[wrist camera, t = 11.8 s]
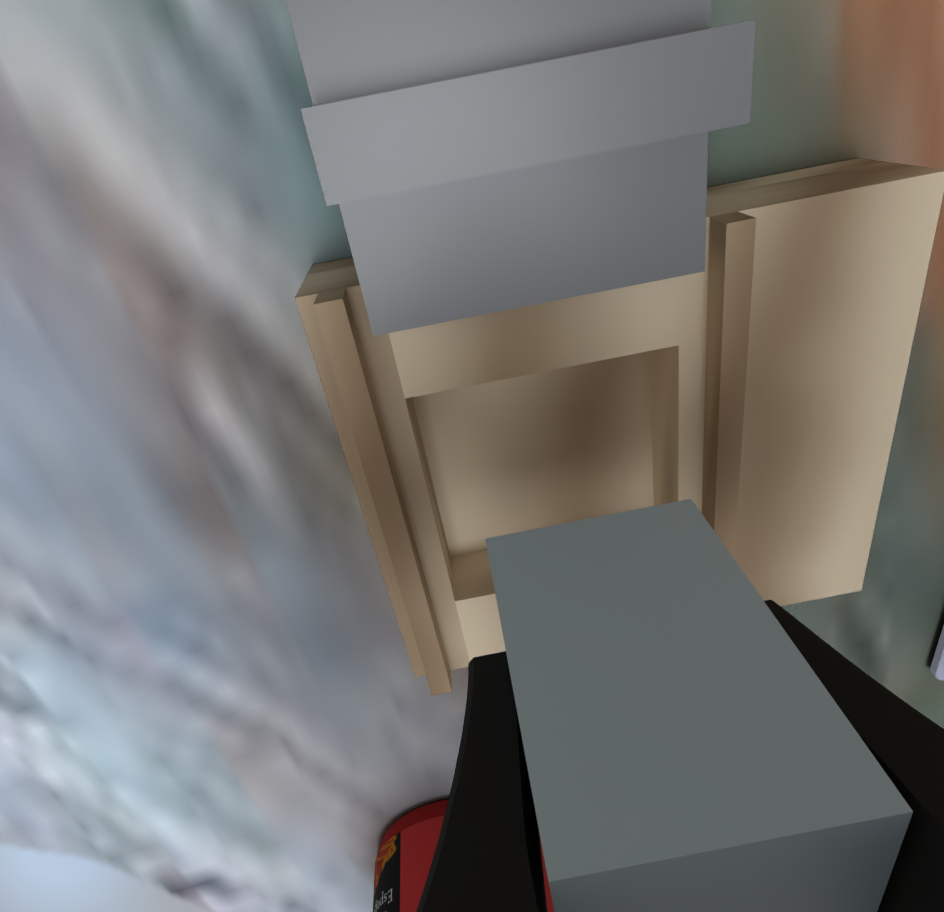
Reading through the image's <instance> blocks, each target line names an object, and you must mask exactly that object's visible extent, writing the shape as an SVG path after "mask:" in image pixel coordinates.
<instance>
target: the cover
mask: <svg viewBox="0 0 944 912" xmlns="http://www.w3.org/2000/svg"><path fill="white" fill-rule="evenodd" d="M286 3H287V7H288V11H289V15H290V19H291V23H292V26H293V30H294V34H295V38H296V42H297V46H298V49H299V53H300V57H301V61H302V65H303V69H304V72H305V76H306V80H307V84H308V88H309V92H310V95H311V99H312V103H313V107H308V108H303V109H301V113H302V117H303V120H304V124H305V128H306V131H307V135H308V139H309V142H310V146H311V150H312V153H313V157H314V161H315V165H316V168H317V172H318V176H319V179H320V183H321V187H322V190H323V194H324V198H325V201H326V205H327V206H331V205H336V204H339V206H340V210H341V214H342V218H343V222H344V226H345V229H346V233H347V237H348V241H349V245H350V249H351V252H352V256H353V260H354V264H355V268H356V272H357V275H358V279H359V283H360V287H361V291H362V295H363V298H364V302H365V306H366V310H367V314H368V318H369V321H370V325H371V329H372V333H373V336H376V335H382V334H387V333H392V332H397V331H402V330H407V329H412V328H417V327H423V326H428V325H433V324H438V323H443V322H448V321H453V320H458V319H464V318H469V317H474V316H479V315H484V314H489V313H494V312H499V311H505V310H510V309H515V308H520V307H525V306H530V305H535V304H540V303H546V302H551V301H556V300H561V299H566V298H571V297H576V296H581V295H587V294H592V293H597V292H602V291H607V290H612V289H617V288H622V287H628V286H633V285H638V284H643V283H648V282H653V281H658V280H663V279H669V278H674V277H679V276H684V275H689V274H694V273H699V272H704V271H705V245H706V204H707V163H708V132H709V131H714V130H719V129H724V128H729V127H734V126H739V125H744V124H750V119H751V101H752V82H753V64H754V46H755V28H756V20H752V21H746V22H741V23H736V24H731V25H726V26H721V27H716V28H711V0H286Z"/></svg>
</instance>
